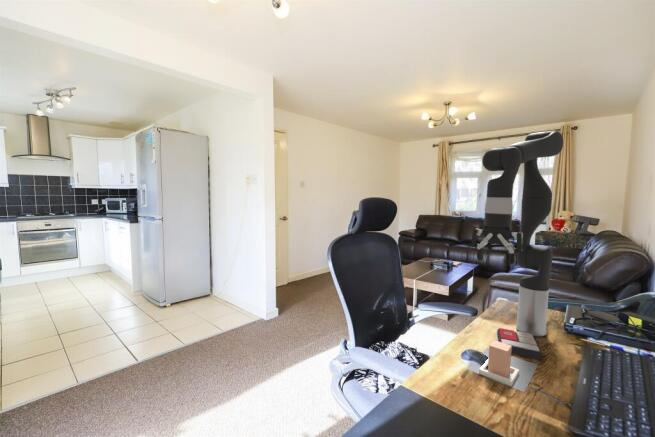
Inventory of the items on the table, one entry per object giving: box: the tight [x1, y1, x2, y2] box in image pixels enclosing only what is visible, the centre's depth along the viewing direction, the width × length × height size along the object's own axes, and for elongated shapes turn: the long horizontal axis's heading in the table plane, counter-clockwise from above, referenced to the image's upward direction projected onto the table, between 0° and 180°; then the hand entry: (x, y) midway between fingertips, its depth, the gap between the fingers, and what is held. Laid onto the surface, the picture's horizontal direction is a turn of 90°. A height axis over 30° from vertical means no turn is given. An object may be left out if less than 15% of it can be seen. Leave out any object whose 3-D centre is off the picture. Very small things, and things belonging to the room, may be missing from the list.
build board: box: [467, 347, 539, 393], centre depth 88 cm, size 18×14×2 cm
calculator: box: [496, 327, 542, 360], centre depth 102 cm, size 11×4×15 cm
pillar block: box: [488, 339, 512, 378], centre depth 84 cm, size 4×4×8 cm
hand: (495, 262), depth 95 cm, fingers open, 8 cm apart
